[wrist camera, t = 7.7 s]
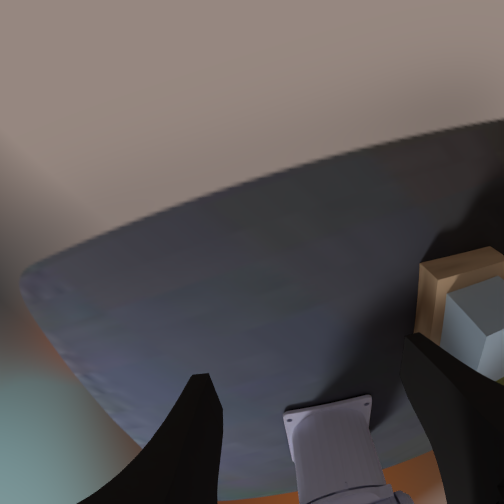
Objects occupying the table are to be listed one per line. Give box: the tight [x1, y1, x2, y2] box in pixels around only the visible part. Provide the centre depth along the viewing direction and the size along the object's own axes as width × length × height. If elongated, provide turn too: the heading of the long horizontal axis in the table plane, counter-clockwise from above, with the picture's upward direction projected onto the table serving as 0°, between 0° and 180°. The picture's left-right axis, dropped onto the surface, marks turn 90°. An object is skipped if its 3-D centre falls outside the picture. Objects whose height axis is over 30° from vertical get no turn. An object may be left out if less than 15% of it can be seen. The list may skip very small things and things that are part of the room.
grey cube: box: [440, 276, 504, 381], centre depth 16 cm, size 5×5×5 cm
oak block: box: [414, 246, 504, 346], centre depth 20 cm, size 7×7×3 cm
